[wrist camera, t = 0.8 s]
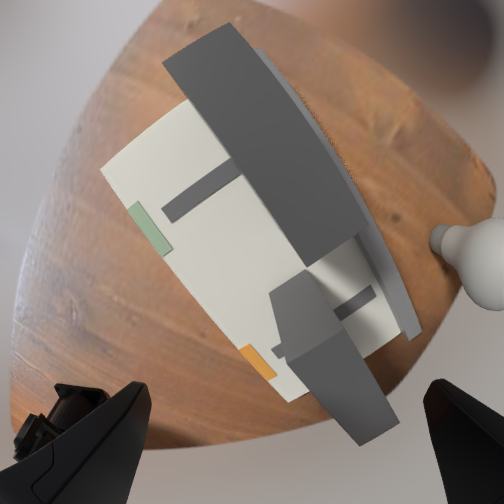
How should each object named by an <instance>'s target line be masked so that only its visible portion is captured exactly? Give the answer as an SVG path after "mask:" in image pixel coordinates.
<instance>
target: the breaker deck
mask: <svg viewBox="0 0 504 504" xmlns="http://www.w3.org/2000/svg"><path fill="white" fill-rule="evenodd" d="M254 51H255V52H256V53H257V54H258V56H259V57H260V58H261V59H262V61H263V62H264V63H265V64H266V66H267V67H268V68H269V69H270V71H271V72H272V73H273V75H274V76H275V77H276V78H277V80H278V81H279V82H280V84H281V85H282V86H283V88H284V89H285V90H286V92H287V93H288V94H289V96H290V97H291V99H292V100H293V101H294V103H295V104H296V106H297V107H298V108H299V110H300V111H301V113H302V114H303V115H304V117H305V118H306V120H307V121H308V123H309V124H310V126H311V127H312V129H313V130H314V132H315V133H316V135H317V136H318V138H319V139H320V141H321V142H322V144H323V146H324V147H325V149H326V150H327V152H328V153H329V155H330V157H331V158H332V160H333V162H334V163H335V165H336V166H337V168H338V170H339V171H340V173H341V175H342V176H343V178H344V180H345V182H346V183H347V185H348V187H349V189H350V190H351V192H352V194H353V196H354V197H355V199H356V201H357V203H358V205H359V206H360V208H361V210H362V212H363V214H364V216H365V218H366V219H367V221H368V223H369V226H367V227H366V228H364V229H363V230H362V231H360V232H359V233H357V234H356V235H354V236H353V237H352V238H350V239H349V240H347V241H346V242H344V243H343V244H341V245H340V246H339V247H337V248H336V249H334V250H333V251H331V252H330V253H328V254H327V255H325V256H324V257H322V258H321V259H319V260H318V261H317V262H315V263H314V264H312V265H311V266H309V267H308V268H306V266H305V265H304V263H303V262H302V260H301V259H300V258H299V256H298V255H297V253H296V252H295V250H294V249H293V248H292V246H291V245H290V243H289V242H288V241H287V239H286V238H285V236H284V235H283V234H282V232H281V231H280V229H279V228H278V226H277V225H276V223H275V222H274V220H273V219H272V218H271V216H270V215H269V213H268V212H267V210H266V209H265V207H264V206H263V204H262V203H261V201H260V200H259V198H258V197H257V196H256V194H255V193H254V191H253V190H252V188H251V187H250V185H249V184H248V183H247V181H246V180H245V178H244V177H243V175H242V174H241V173H240V171H239V170H238V168H237V167H236V165H235V164H234V163H233V161H232V160H231V158H230V157H229V156H228V154H227V153H226V151H225V150H224V149H223V147H222V146H221V144H220V143H219V142H218V140H217V139H216V137H215V136H214V135H213V133H212V132H211V131H210V129H209V128H208V126H207V125H206V124H205V122H204V121H203V120H202V118H201V117H200V115H199V114H198V113H197V111H196V110H195V109H194V107H193V106H192V105H191V103H190V102H189V100H188V99H187V100H185V101H184V102H182V103H181V104H179V105H178V106H177V107H175V108H174V109H172V110H171V111H170V112H168V113H167V114H166V115H164V116H163V117H162V118H160V119H159V120H158V121H156V122H155V123H154V124H153V125H151V126H150V127H149V128H147V129H146V130H145V131H144V132H142V133H141V134H140V135H139V136H138V137H136V138H135V139H134V140H133V141H132V142H130V143H129V144H128V145H127V146H126V147H124V148H123V149H122V150H121V151H120V152H119V153H118V154H116V155H115V156H114V157H113V158H112V159H111V160H110V161H109V162H108V163H106V164H105V165H104V166H103V167H102V168H101V169H100V170H101V172H102V173H103V175H104V177H105V178H106V180H107V181H108V183H109V184H110V185H111V187H112V188H113V190H114V191H115V193H116V194H117V196H118V197H119V199H120V200H121V202H122V203H123V204H124V206H125V207H126V209H127V211H128V212H129V214H130V215H131V217H132V218H133V219H134V221H135V222H136V224H137V225H138V226H139V228H140V229H141V231H142V232H143V233H144V235H145V236H146V237H147V239H148V240H149V241H150V243H151V244H152V245H153V247H154V248H155V249H156V251H157V252H158V253H159V255H160V256H161V257H162V258H163V259H164V260H165V262H166V263H167V264H168V265H169V267H170V268H171V269H172V271H173V272H174V273H175V274H176V276H177V277H178V278H179V279H180V281H181V282H182V283H183V284H184V286H185V287H186V288H187V289H188V291H189V292H190V293H191V294H192V296H193V297H194V298H195V299H196V301H197V302H198V303H199V304H200V305H201V307H202V308H203V309H204V310H205V311H206V313H207V314H208V315H209V316H210V317H211V318H212V320H213V321H214V322H215V323H216V324H217V326H218V327H219V328H220V329H221V330H222V331H223V332H224V334H225V335H226V336H227V337H228V338H229V339H230V340H231V342H232V343H233V344H234V345H235V346H236V347H237V348H238V350H239V351H240V352H241V354H242V355H243V356H244V357H245V358H246V359H247V360H248V361H249V362H250V363H251V365H252V366H253V367H254V368H255V369H256V370H257V371H258V372H259V373H260V374H261V375H262V376H263V377H264V379H265V380H266V381H268V382H269V383H270V384H271V385H272V386H273V387H274V388H275V389H276V391H277V392H278V393H279V394H280V395H281V396H282V397H283V398H284V399H285V400H286V401H287V402H290V401H292V400H294V399H296V398H298V397H300V396H301V395H303V394H305V393H307V392H309V390H308V389H307V387H306V386H305V385H304V384H303V383H302V382H301V380H300V379H299V378H298V377H297V376H296V375H295V373H294V372H293V371H292V370H291V369H290V368H289V366H288V365H287V364H286V360H285V356H284V352H283V348H282V344H281V340H280V336H279V332H278V328H277V324H276V320H275V316H274V312H273V309H272V305H271V301H270V297H269V292H271V291H272V290H274V289H275V288H277V287H278V286H280V285H282V284H283V283H285V282H286V281H288V280H289V279H291V278H292V277H294V276H295V275H297V274H298V273H300V272H301V271H303V270H304V269H306V270H307V272H308V273H309V275H310V276H311V278H312V279H313V281H314V282H315V284H316V285H317V287H318V288H319V290H320V291H321V293H322V294H323V296H324V297H325V299H326V300H327V302H328V303H329V305H330V306H331V308H332V309H333V311H334V313H335V314H336V316H337V317H338V319H339V320H340V322H341V323H342V325H343V326H344V328H345V330H346V331H347V333H348V334H349V336H350V338H351V339H352V341H353V343H354V344H355V346H356V348H357V349H358V351H359V353H360V354H361V356H362V358H363V359H364V358H365V357H367V356H368V355H370V354H371V353H373V352H374V351H376V350H377V349H379V348H380V347H382V346H383V345H384V344H386V343H387V342H389V341H390V340H391V339H393V338H394V337H396V336H397V335H398V334H400V333H402V334H403V335H404V336H405V337H406V338H407V339H408V341H410V340H411V339H413V338H414V337H415V336H417V335H418V334H419V333H421V332H422V330H421V327H420V324H419V321H418V319H417V316H416V313H415V311H414V308H413V306H412V303H411V300H410V298H409V295H408V293H407V291H406V288H405V286H404V283H403V281H402V279H401V276H400V274H399V272H398V269H397V267H396V265H395V263H394V261H393V258H392V256H391V254H390V252H389V250H388V248H387V245H386V243H385V241H384V239H383V237H382V235H381V233H380V231H379V229H378V227H377V225H376V223H375V221H374V219H373V217H372V215H371V213H370V211H369V210H368V208H367V206H366V204H365V202H364V200H363V198H362V197H361V195H360V193H359V191H358V189H357V187H356V186H355V184H354V182H353V180H352V179H351V177H350V175H349V173H348V172H347V170H346V168H345V167H344V165H343V163H342V162H341V160H340V158H339V157H338V155H337V153H336V152H335V150H334V149H333V147H332V145H331V144H330V142H329V141H328V139H327V138H326V136H325V134H324V133H323V131H322V130H321V128H320V127H319V125H318V124H317V122H316V121H315V119H314V118H313V116H312V115H311V114H310V112H309V111H308V109H307V108H306V106H305V105H304V103H303V102H302V101H301V99H300V98H299V96H298V95H297V94H296V92H295V91H294V90H293V88H292V87H291V86H290V84H289V83H288V82H287V80H286V79H285V78H284V76H283V75H282V74H281V72H280V71H279V70H278V69H277V67H276V66H275V65H274V64H273V62H272V61H271V60H270V59H269V57H268V56H267V55H266V54H265V52H264V51H263V50H262V49H261V48H260V47H259V48H257V49H255V50H254Z"/></svg>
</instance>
